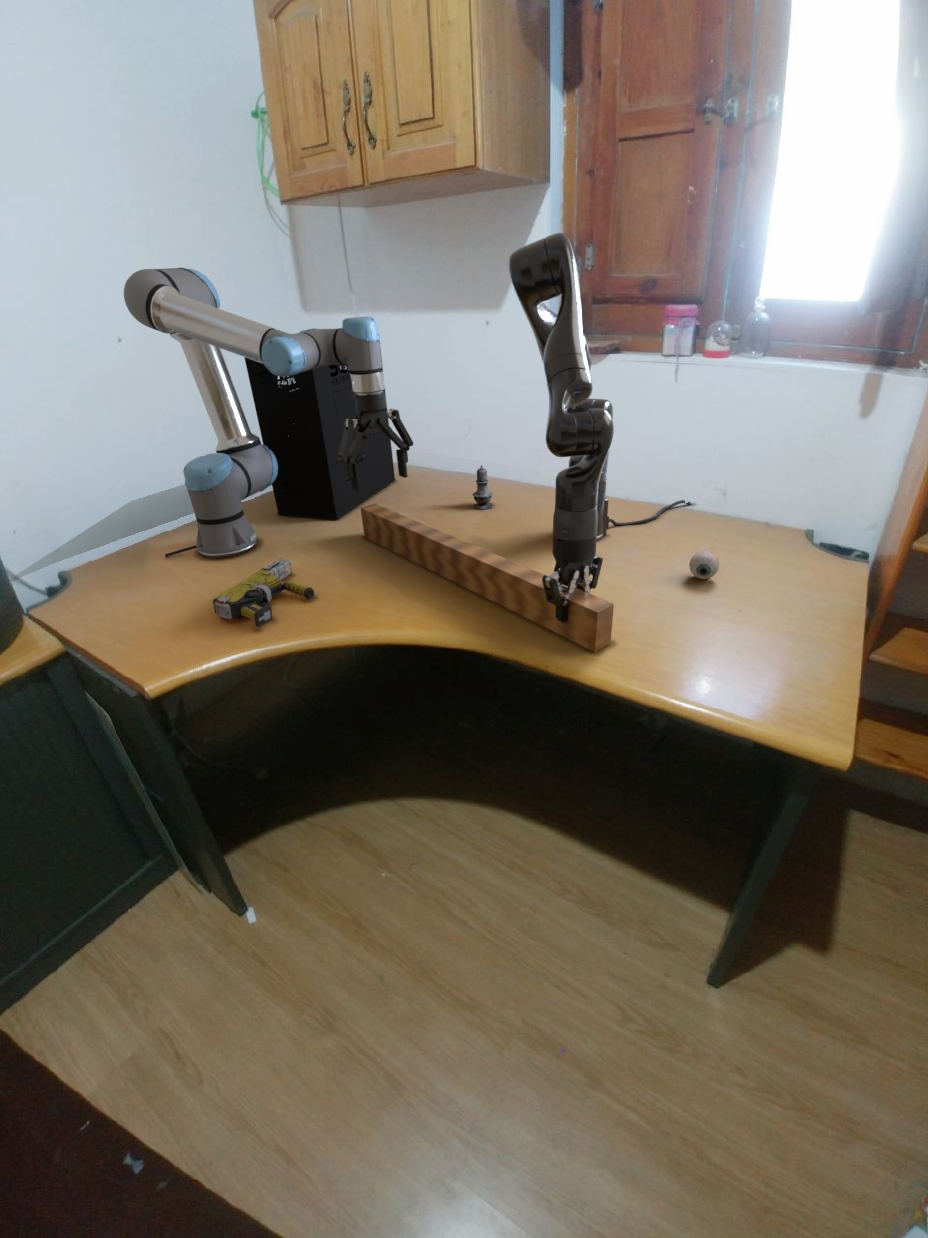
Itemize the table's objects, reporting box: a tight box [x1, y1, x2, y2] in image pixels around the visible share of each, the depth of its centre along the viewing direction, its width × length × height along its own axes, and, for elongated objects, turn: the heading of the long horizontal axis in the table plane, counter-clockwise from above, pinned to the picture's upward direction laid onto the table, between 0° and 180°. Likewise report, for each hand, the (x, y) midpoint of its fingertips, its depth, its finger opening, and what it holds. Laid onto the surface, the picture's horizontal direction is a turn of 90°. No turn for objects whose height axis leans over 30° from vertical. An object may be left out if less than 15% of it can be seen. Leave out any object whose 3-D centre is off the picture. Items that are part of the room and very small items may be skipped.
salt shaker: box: [472, 464, 494, 510], centre depth 174 cm, size 6×6×12 cm
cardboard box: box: [243, 332, 396, 521], centre depth 180 cm, size 38×20×45 cm, turn 159°
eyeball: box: [688, 550, 720, 580], centre depth 128 cm, size 6×6×6 cm
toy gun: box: [212, 558, 315, 628], centre depth 130 cm, size 5×24×15 cm
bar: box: [360, 503, 615, 653], centre depth 133 cm, size 78×4×8 cm, turn 40°
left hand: (380, 482), depth 149 cm, fingers open, 13 cm apart
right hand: (571, 615), depth 112 cm, fingers closed on bar, 4 cm apart
